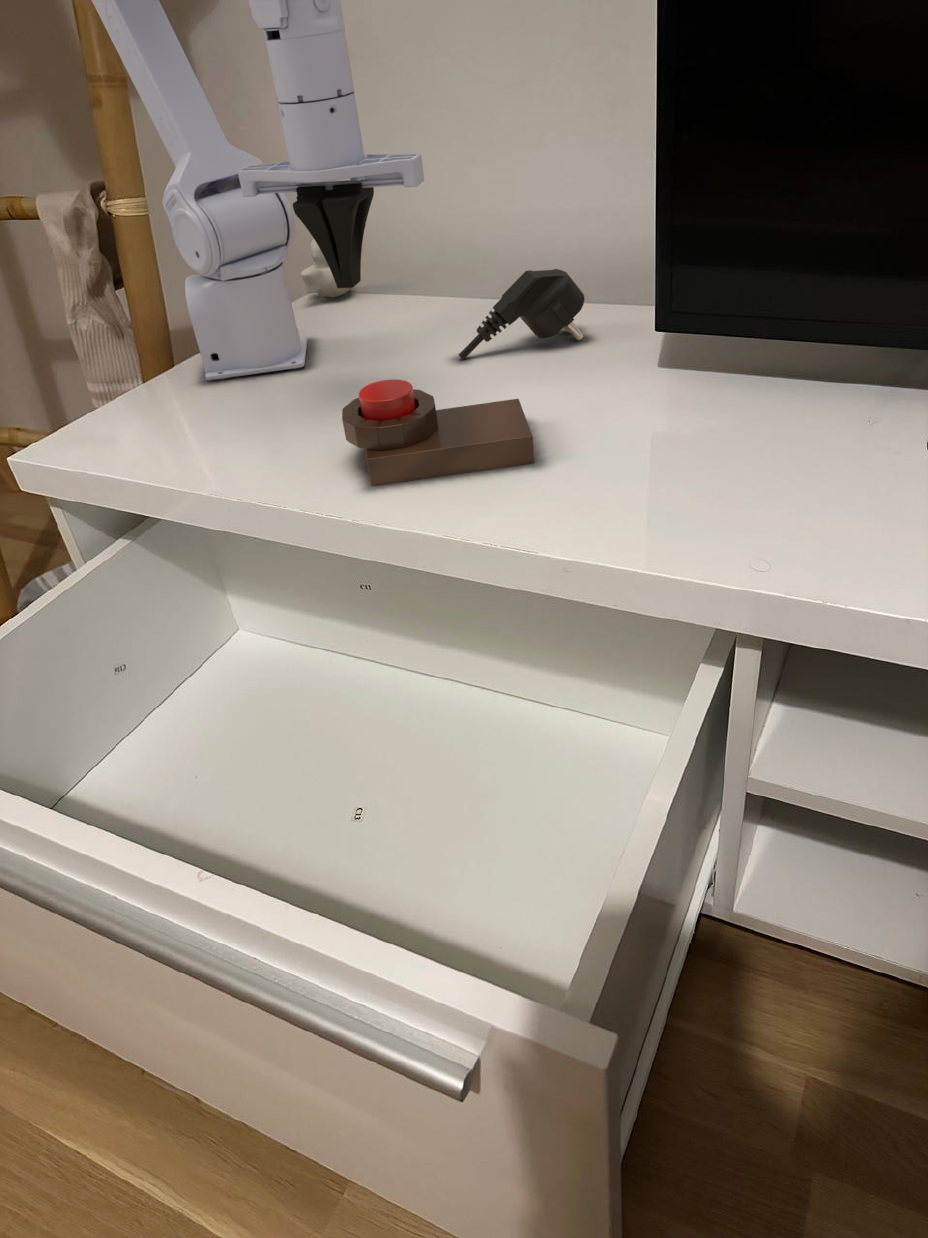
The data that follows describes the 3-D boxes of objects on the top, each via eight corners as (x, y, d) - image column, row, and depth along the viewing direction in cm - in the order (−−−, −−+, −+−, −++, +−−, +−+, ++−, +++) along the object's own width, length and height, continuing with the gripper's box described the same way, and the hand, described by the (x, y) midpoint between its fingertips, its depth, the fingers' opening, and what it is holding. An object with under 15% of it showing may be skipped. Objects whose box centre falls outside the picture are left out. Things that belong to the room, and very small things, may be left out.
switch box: (351, 489, 67) (341, 439, 65) (351, 442, 73) (342, 395, 71) (534, 463, 67) (531, 412, 65) (518, 419, 74) (515, 371, 71)
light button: (362, 426, 67) (358, 404, 66) (362, 405, 70) (358, 383, 69) (417, 419, 67) (413, 396, 66) (414, 398, 70) (411, 375, 69)
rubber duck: (367, 291, 106) (355, 217, 101) (324, 309, 102) (310, 233, 98) (335, 286, 109) (322, 214, 104) (293, 303, 105) (277, 229, 101)
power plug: (446, 341, 87) (539, 246, 84) (496, 393, 91) (586, 304, 89) (463, 361, 82) (562, 260, 80) (515, 414, 87) (610, 321, 84)
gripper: (424, 80, 69) (446, 266, 77) (250, 96, 73) (288, 272, 81) (395, 95, 64) (422, 293, 72) (209, 111, 68) (254, 298, 76)
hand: (349, 284), depth 76 cm, fingers closed
